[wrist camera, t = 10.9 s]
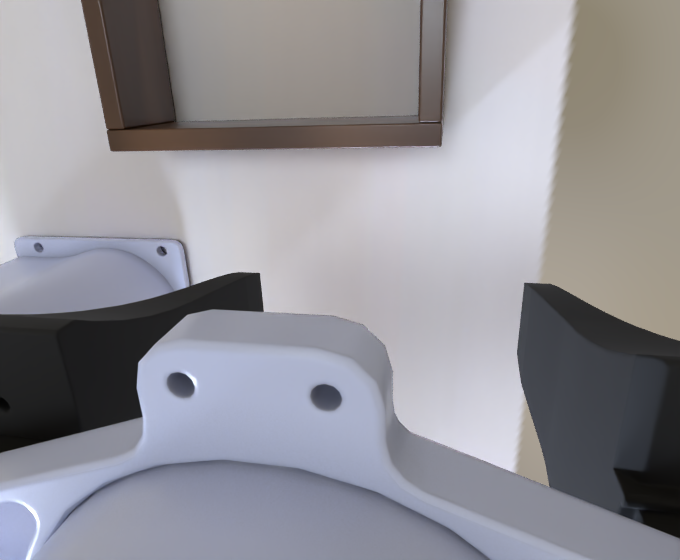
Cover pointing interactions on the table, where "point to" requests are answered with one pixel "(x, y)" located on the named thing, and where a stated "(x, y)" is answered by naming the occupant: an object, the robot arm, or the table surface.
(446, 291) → the table surface
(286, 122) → the cubby
